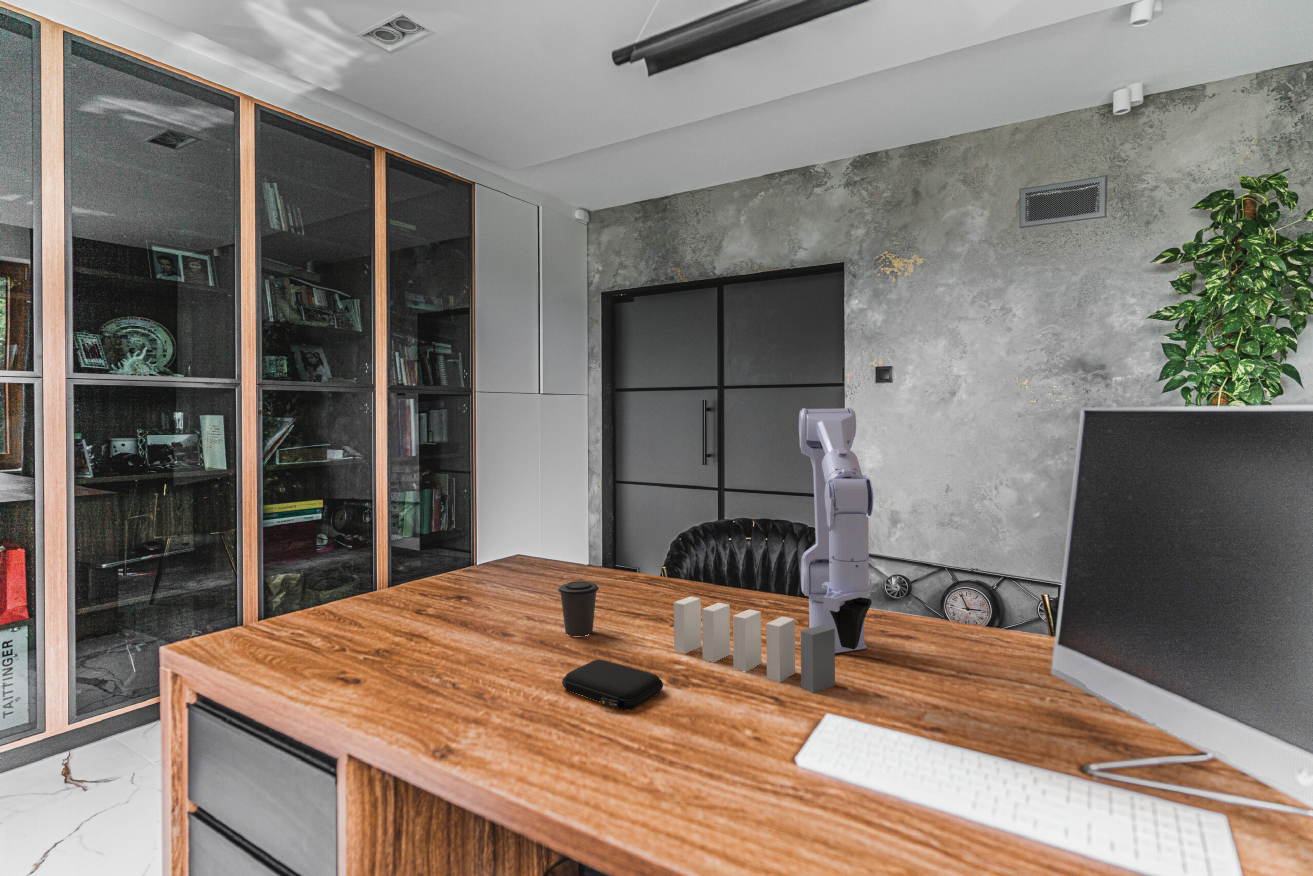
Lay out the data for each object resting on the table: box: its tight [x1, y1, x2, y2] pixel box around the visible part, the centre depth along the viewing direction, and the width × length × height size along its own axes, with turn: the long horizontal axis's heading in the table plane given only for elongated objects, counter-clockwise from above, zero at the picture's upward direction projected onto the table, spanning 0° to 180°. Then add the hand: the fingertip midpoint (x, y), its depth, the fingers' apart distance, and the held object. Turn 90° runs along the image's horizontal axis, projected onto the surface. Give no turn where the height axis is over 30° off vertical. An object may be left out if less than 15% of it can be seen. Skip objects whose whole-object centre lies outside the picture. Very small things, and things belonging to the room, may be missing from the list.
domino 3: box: [732, 608, 762, 673], centre depth 107 cm, size 2×5×9 cm, turn 139°
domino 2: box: [701, 602, 731, 663], centre depth 111 cm, size 2×5×9 cm, turn 139°
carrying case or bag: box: [561, 659, 664, 710], centre depth 97 cm, size 11×3×15 cm
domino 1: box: [673, 595, 702, 655], centre depth 116 cm, size 2×5×9 cm, turn 139°
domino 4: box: [765, 615, 796, 683], centre depth 103 cm, size 2×5×9 cm, turn 139°
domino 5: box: [800, 625, 836, 694], centre depth 98 cm, size 2×5×9 cm, turn 123°
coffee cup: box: [557, 580, 599, 636], centre depth 125 cm, size 8×8×10 cm
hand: (849, 647), depth 95 cm, fingers closed
